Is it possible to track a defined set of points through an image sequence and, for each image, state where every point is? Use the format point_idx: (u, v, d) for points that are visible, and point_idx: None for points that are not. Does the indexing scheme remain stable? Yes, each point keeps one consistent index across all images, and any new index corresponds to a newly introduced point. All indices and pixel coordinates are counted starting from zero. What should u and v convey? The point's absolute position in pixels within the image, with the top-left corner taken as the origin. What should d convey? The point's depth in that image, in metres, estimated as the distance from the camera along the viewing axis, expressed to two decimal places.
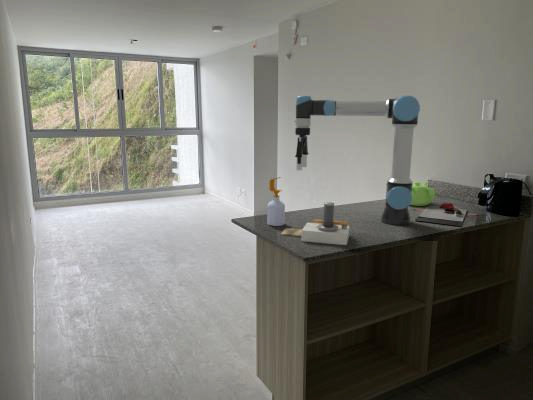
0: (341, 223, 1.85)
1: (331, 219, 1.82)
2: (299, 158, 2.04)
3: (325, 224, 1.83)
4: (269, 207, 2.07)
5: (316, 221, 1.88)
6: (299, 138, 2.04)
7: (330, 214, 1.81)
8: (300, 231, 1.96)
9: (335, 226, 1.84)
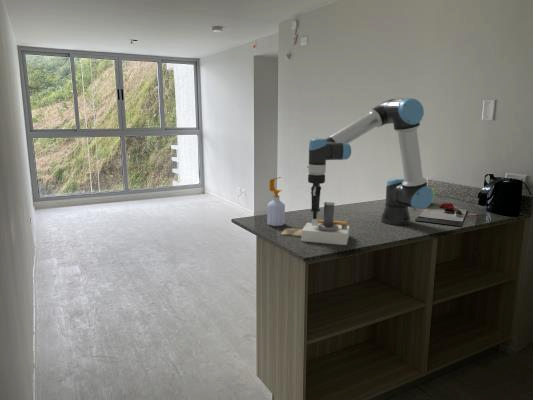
0: (341, 223, 1.85)
1: (331, 219, 1.82)
2: (315, 213, 1.83)
3: (325, 224, 1.83)
4: (269, 207, 2.07)
5: None
6: (313, 193, 1.77)
7: (330, 213, 1.81)
8: (300, 231, 1.96)
9: (335, 226, 1.84)
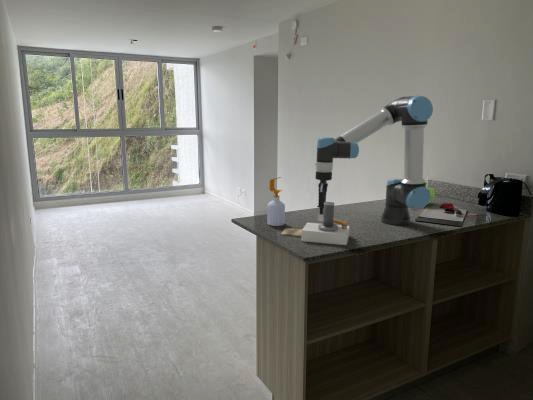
0: (341, 222, 1.86)
1: (330, 219, 1.82)
2: (321, 208, 1.91)
3: (324, 224, 1.83)
4: (269, 207, 2.07)
5: None
6: (320, 189, 1.85)
7: (329, 213, 1.82)
8: (300, 231, 1.96)
9: (335, 226, 1.84)
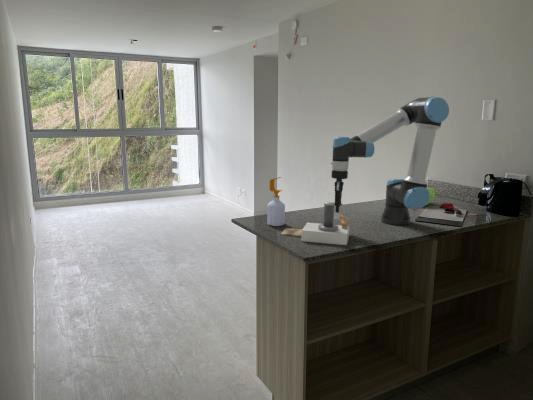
0: (342, 222, 1.87)
1: (330, 219, 1.82)
2: (337, 207, 1.94)
3: (324, 224, 1.83)
4: (269, 207, 2.07)
5: None
6: (336, 188, 1.88)
7: (329, 213, 1.82)
8: (300, 231, 1.96)
9: (335, 226, 1.84)
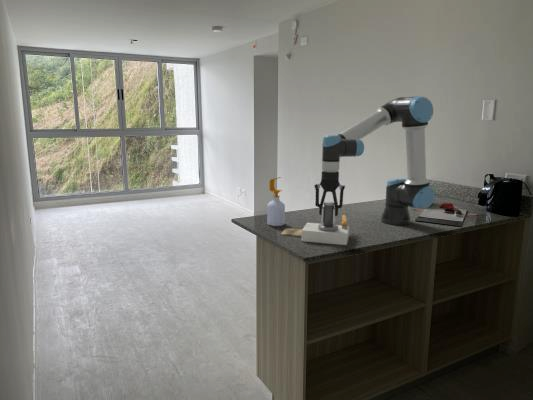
0: (342, 222, 1.87)
1: (330, 219, 1.82)
2: None
3: (324, 224, 1.83)
4: (269, 207, 2.07)
5: (342, 216, 1.98)
6: (315, 185, 1.83)
7: (329, 213, 1.82)
8: (300, 231, 1.96)
9: (335, 226, 1.84)
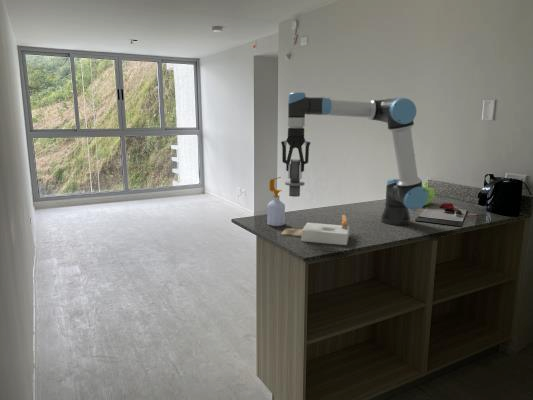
0: (342, 222, 1.87)
1: (297, 175, 1.89)
2: None
3: (291, 180, 1.90)
4: (269, 207, 2.07)
5: (342, 216, 1.98)
6: None
7: (295, 169, 1.88)
8: (300, 231, 1.96)
9: (302, 182, 1.91)
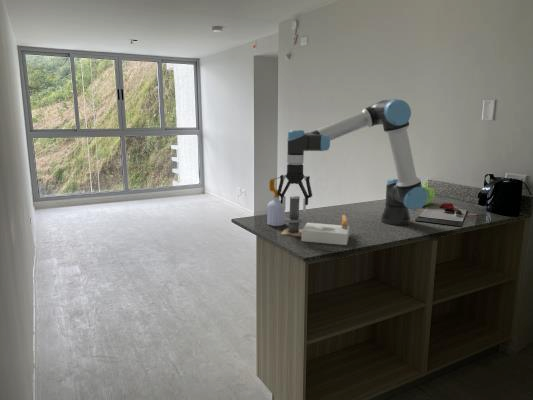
0: (342, 222, 1.87)
1: (296, 212, 1.92)
2: (281, 197, 1.94)
3: (290, 216, 1.93)
4: (269, 207, 2.07)
5: (342, 216, 1.98)
6: None
7: (294, 206, 1.92)
8: (300, 231, 1.96)
9: (301, 219, 1.94)
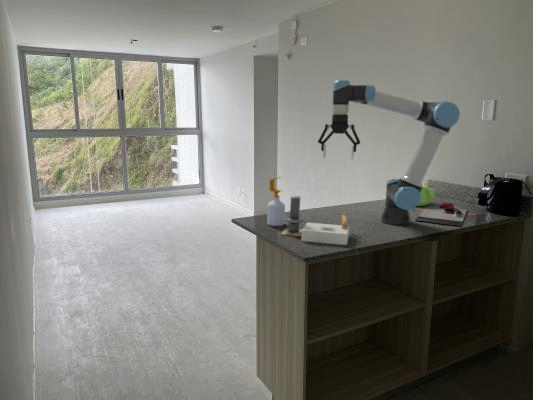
0: (342, 222, 1.87)
1: (296, 212, 1.92)
2: None
3: (291, 216, 1.93)
4: (269, 207, 2.07)
5: (342, 216, 1.98)
6: (325, 125, 1.99)
7: (295, 206, 1.92)
8: (300, 231, 1.96)
9: (301, 219, 1.94)
